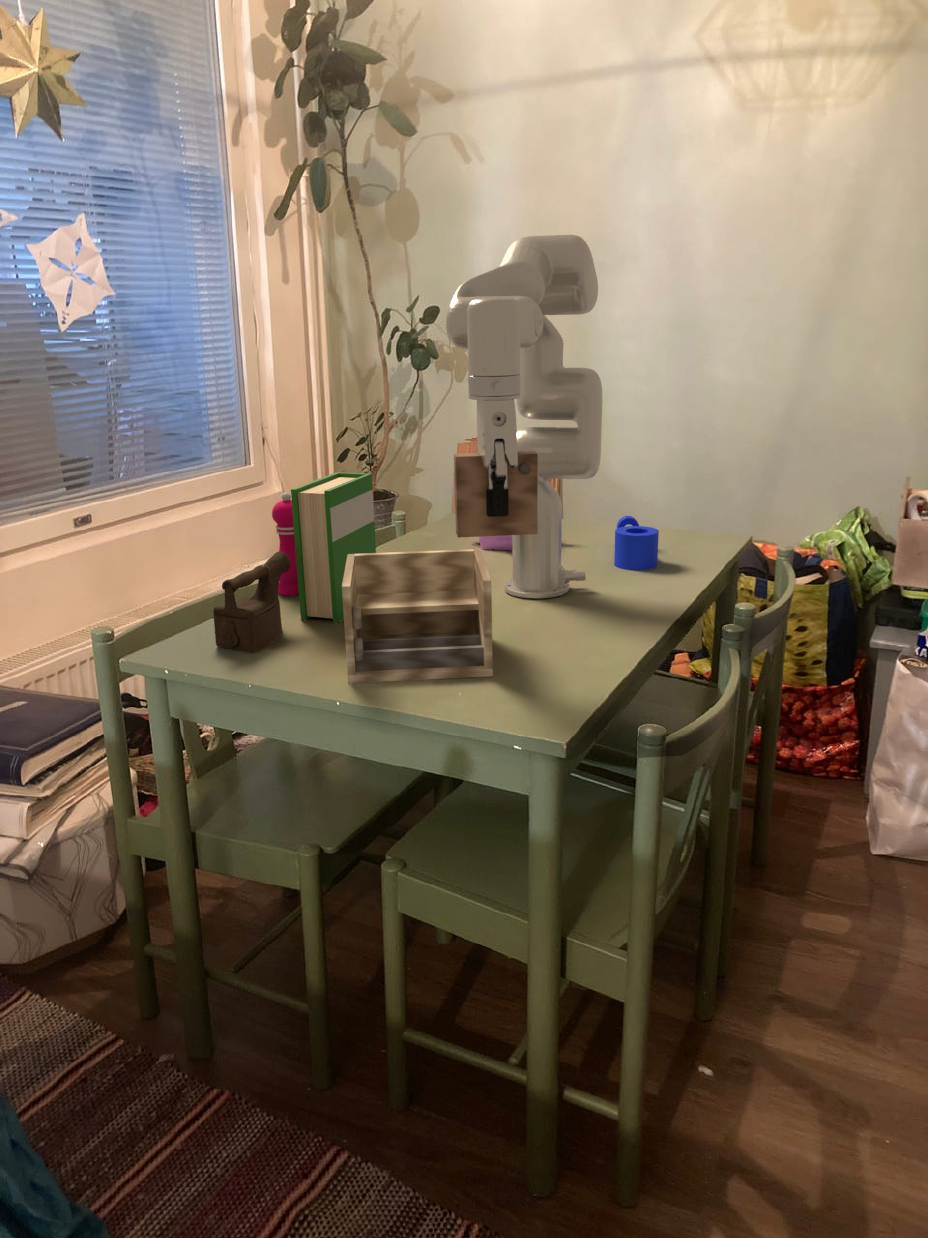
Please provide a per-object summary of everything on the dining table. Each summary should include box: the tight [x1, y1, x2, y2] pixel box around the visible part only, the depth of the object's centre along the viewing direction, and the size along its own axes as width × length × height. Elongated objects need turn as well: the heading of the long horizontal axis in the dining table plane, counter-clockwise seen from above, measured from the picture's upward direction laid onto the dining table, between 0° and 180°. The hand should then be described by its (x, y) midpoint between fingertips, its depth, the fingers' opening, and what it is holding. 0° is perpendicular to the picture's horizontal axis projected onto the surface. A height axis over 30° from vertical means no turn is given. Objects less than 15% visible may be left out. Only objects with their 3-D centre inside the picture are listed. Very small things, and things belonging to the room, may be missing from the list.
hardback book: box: [290, 471, 377, 625], centre depth 181 cm, size 18×7×24 cm, turn 161°
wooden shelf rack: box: [342, 548, 494, 684], centre depth 155 cm, size 22×19×15 cm
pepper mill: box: [271, 491, 299, 597], centre depth 192 cm, size 7×7×20 cm
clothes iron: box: [212, 551, 290, 653], centre depth 167 cm, size 8×16×13 cm, turn 154°
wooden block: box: [453, 451, 538, 538], centre depth 145 cm, size 12×4×12 cm, turn 96°
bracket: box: [613, 515, 660, 571], centre depth 213 cm, size 20×9×8 cm, turn 178°
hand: (495, 512), depth 147 cm, fingers closed on wooden block, 3 cm apart
